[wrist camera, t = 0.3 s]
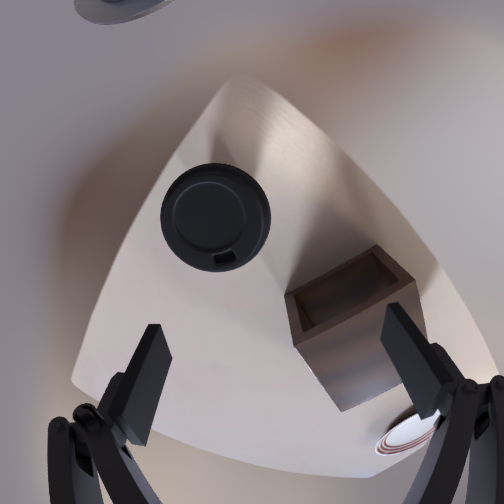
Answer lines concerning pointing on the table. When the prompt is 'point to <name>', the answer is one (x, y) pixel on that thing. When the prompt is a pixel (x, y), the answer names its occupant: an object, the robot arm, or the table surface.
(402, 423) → the dinner plate
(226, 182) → the coffee cup
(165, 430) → the table surface
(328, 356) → the wooden cubby box
